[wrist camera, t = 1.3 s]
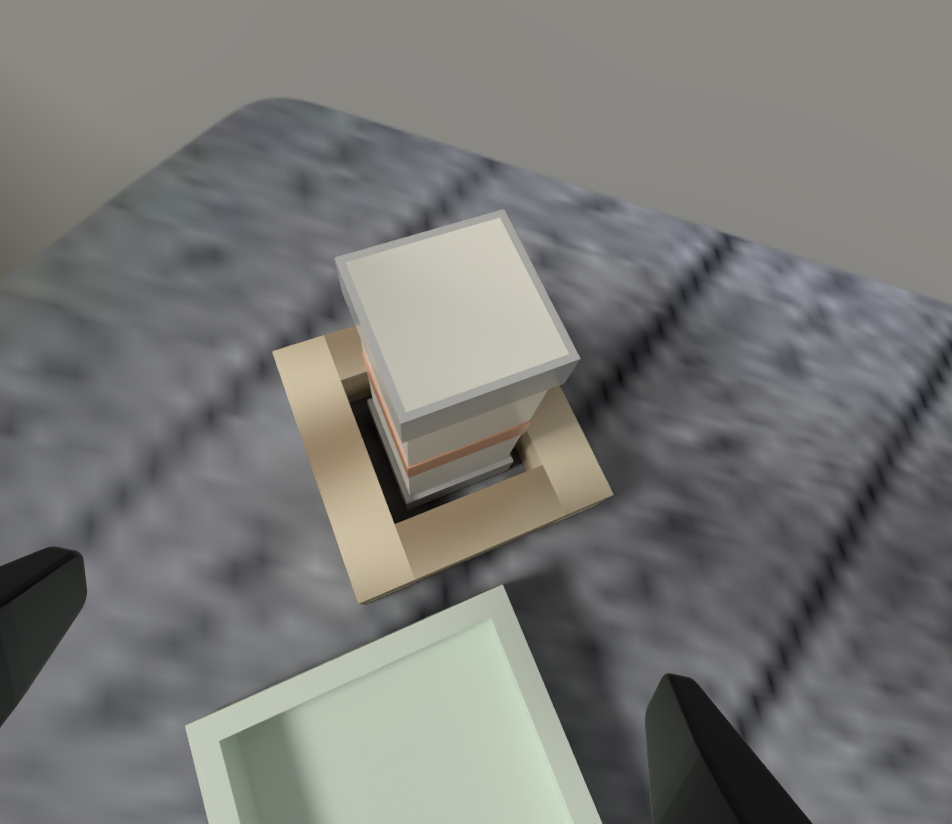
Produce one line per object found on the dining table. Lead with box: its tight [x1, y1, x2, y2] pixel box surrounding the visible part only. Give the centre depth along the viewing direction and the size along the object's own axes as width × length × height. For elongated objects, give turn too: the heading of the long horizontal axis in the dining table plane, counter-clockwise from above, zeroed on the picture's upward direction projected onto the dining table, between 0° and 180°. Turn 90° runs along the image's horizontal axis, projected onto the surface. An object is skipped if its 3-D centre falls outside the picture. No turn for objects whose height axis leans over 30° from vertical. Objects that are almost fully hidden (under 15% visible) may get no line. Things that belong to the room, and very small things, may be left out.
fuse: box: [334, 209, 580, 510], centre depth 18 cm, size 4×4×11 cm
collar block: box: [273, 326, 614, 605], centre depth 22 cm, size 10×10×2 cm
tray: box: [185, 584, 602, 824], centre depth 18 cm, size 11×11×2 cm
